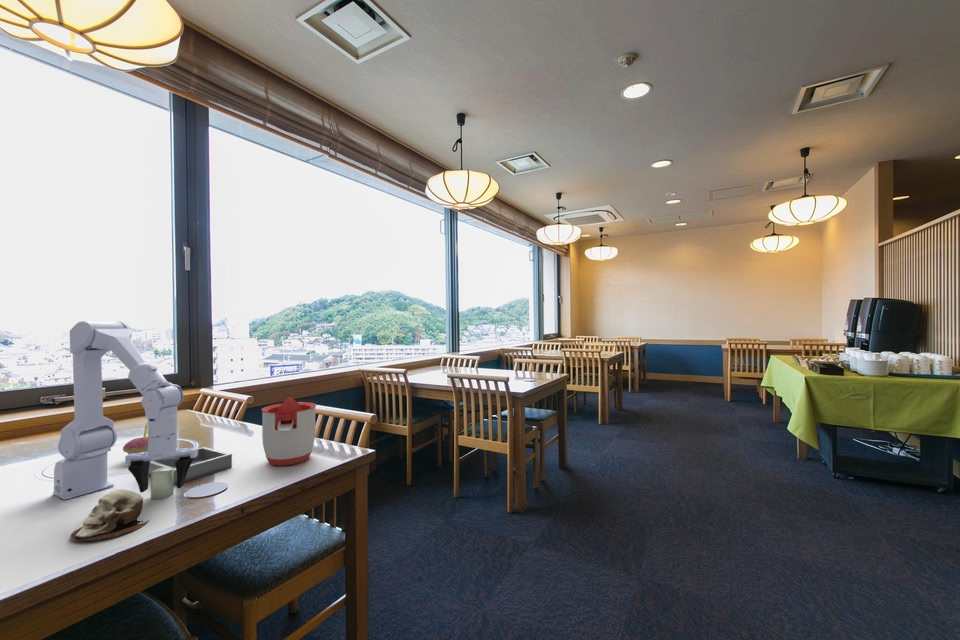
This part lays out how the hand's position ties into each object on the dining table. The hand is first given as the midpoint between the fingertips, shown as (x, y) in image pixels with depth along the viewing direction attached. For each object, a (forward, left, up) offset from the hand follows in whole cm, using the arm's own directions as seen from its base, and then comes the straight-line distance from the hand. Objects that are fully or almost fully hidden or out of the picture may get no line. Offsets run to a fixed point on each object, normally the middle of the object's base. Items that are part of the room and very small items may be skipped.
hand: (162, 488), depth 98 cm
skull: (-13, -9, -2) cm, 16 cm away
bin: (+12, +12, -2) cm, 17 cm away
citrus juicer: (+31, -6, -2) cm, 32 cm away
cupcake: (+10, +37, -2) cm, 38 cm away
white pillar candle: (0, 0, -2) cm, 2 cm away
